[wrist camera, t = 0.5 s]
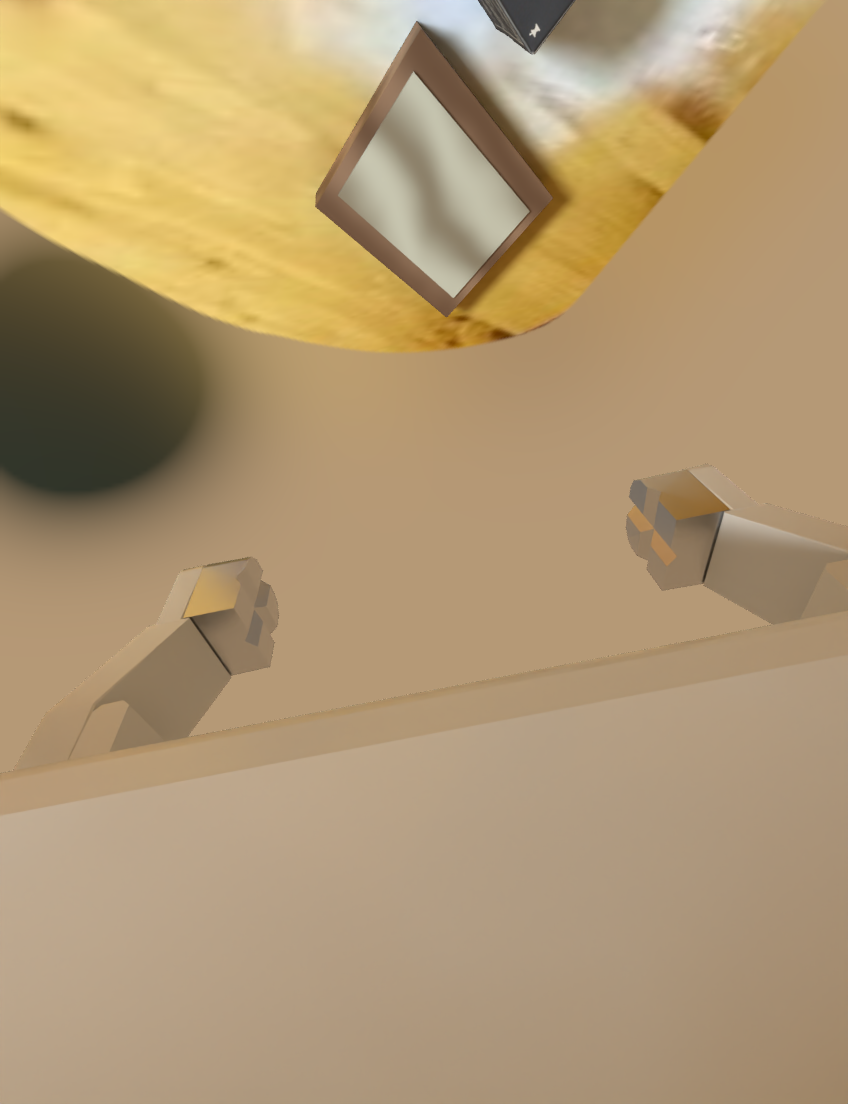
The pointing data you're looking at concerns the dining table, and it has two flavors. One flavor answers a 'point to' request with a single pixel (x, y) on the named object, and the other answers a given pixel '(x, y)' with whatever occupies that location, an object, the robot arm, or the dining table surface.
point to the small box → (526, 19)
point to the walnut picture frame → (430, 179)
